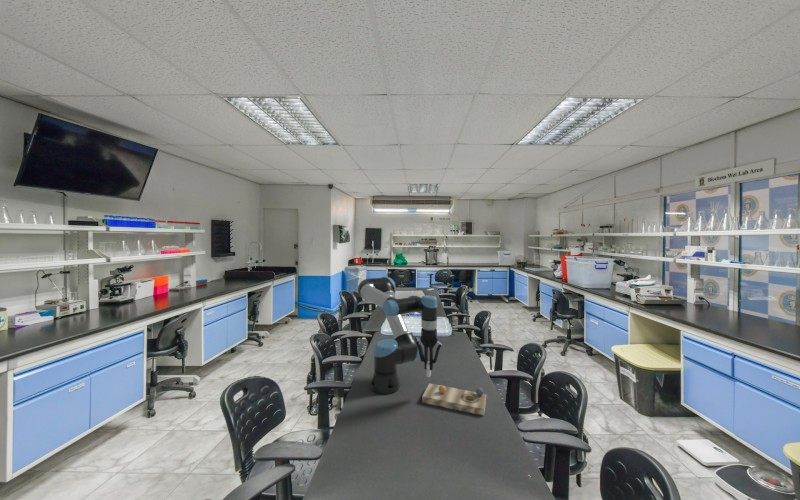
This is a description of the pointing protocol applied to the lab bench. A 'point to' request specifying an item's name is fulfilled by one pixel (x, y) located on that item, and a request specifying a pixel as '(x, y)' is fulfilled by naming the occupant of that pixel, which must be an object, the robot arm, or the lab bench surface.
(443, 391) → the ball
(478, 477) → the lab bench surface
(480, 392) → the grey ball
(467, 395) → the board
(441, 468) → the lab bench surface
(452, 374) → the lab bench surface
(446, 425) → the lab bench surface
